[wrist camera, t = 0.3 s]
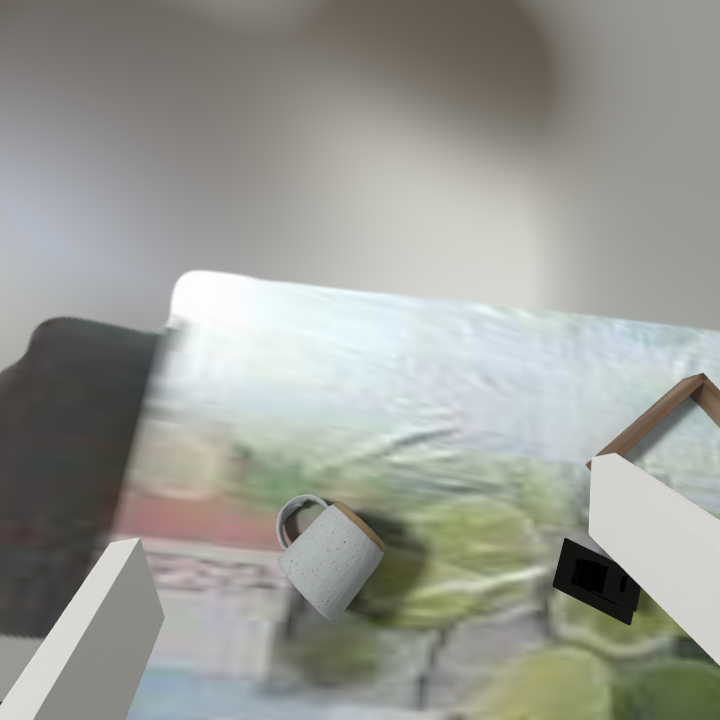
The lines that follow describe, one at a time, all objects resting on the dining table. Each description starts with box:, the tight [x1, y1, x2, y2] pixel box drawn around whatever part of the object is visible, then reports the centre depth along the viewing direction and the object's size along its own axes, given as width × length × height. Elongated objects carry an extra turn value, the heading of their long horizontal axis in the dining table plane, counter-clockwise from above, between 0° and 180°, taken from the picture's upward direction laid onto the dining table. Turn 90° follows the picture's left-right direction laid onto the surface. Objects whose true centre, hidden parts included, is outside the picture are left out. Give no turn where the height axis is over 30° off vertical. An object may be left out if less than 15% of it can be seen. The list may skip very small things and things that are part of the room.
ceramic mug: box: [276, 494, 385, 622], centre depth 39 cm, size 11×8×8 cm
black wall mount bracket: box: [553, 538, 641, 625], centre depth 43 cm, size 12×7×5 cm, turn 65°
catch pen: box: [586, 373, 720, 470], centre depth 47 cm, size 19×19×3 cm
